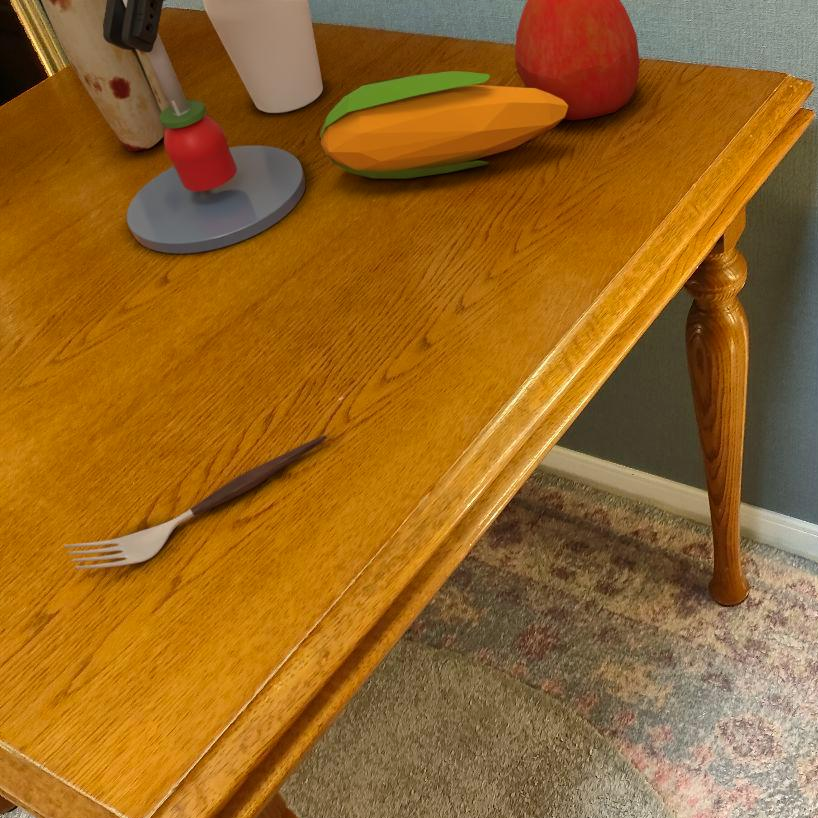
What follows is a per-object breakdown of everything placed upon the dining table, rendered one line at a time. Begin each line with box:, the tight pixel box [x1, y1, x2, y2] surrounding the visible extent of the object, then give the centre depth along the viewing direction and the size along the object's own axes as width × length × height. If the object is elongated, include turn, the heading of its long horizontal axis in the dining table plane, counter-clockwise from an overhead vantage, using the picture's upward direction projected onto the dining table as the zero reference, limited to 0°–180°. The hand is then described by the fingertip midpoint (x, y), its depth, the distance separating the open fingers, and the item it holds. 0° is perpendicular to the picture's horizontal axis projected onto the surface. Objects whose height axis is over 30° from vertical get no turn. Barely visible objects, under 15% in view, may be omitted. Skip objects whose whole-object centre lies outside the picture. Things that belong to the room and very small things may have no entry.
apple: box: [514, 0, 641, 121], centre depth 82 cm, size 10×10×10 cm
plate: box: [126, 144, 307, 255], centre depth 84 cm, size 15×15×1 cm
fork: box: [64, 435, 328, 570], centre depth 59 cm, size 3×16×2 cm, turn 125°
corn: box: [319, 70, 568, 180], centre depth 79 cm, size 7×8×20 cm
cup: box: [202, 0, 324, 114], centre depth 91 cm, size 9×9×12 cm
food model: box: [40, 0, 169, 152], centre depth 87 cm, size 10×7×20 cm
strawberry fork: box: [123, 0, 237, 191], centre depth 76 cm, size 5×5×16 cm
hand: (127, 46), depth 73 cm, fingers closed on strawberry fork, 1 cm apart
